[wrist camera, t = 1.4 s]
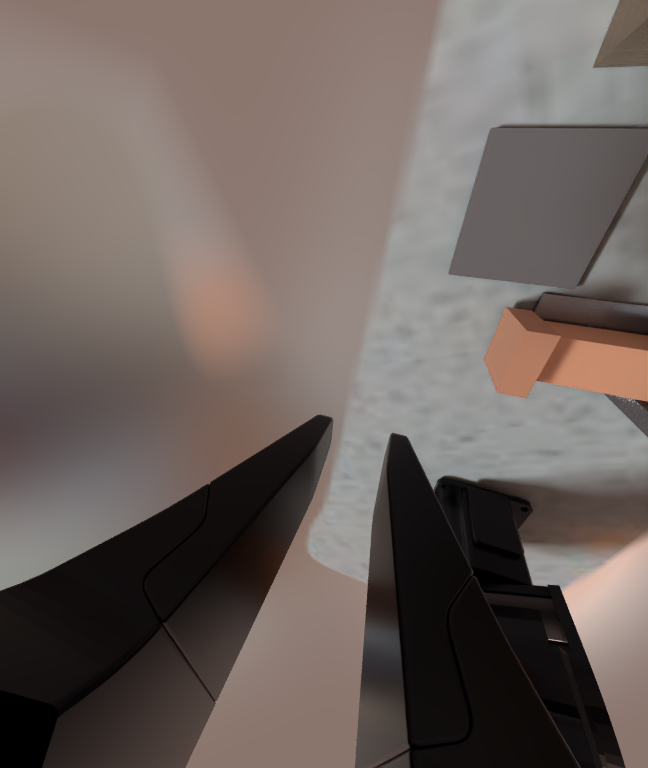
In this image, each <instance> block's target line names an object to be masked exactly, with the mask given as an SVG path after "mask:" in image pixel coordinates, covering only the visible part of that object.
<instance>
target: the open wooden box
mask: <svg viewBox="0 0 648 768" xmlns="http://www.w3.org/2000/svg"><path fill="white" fill-rule="evenodd" d="M625 66H648V0H620V2H619V4H618V7H617V9H616V12H615V14H614V17H613V19H612V21H611V24H610V26H609V29H608V31H607V34H606V36H605V39H604V41H603V44H602V46H601V49H600V51H599V54H598V56H597V59H596V61H595V64H594V66H593V68H599V67H625Z"/></svg>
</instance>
